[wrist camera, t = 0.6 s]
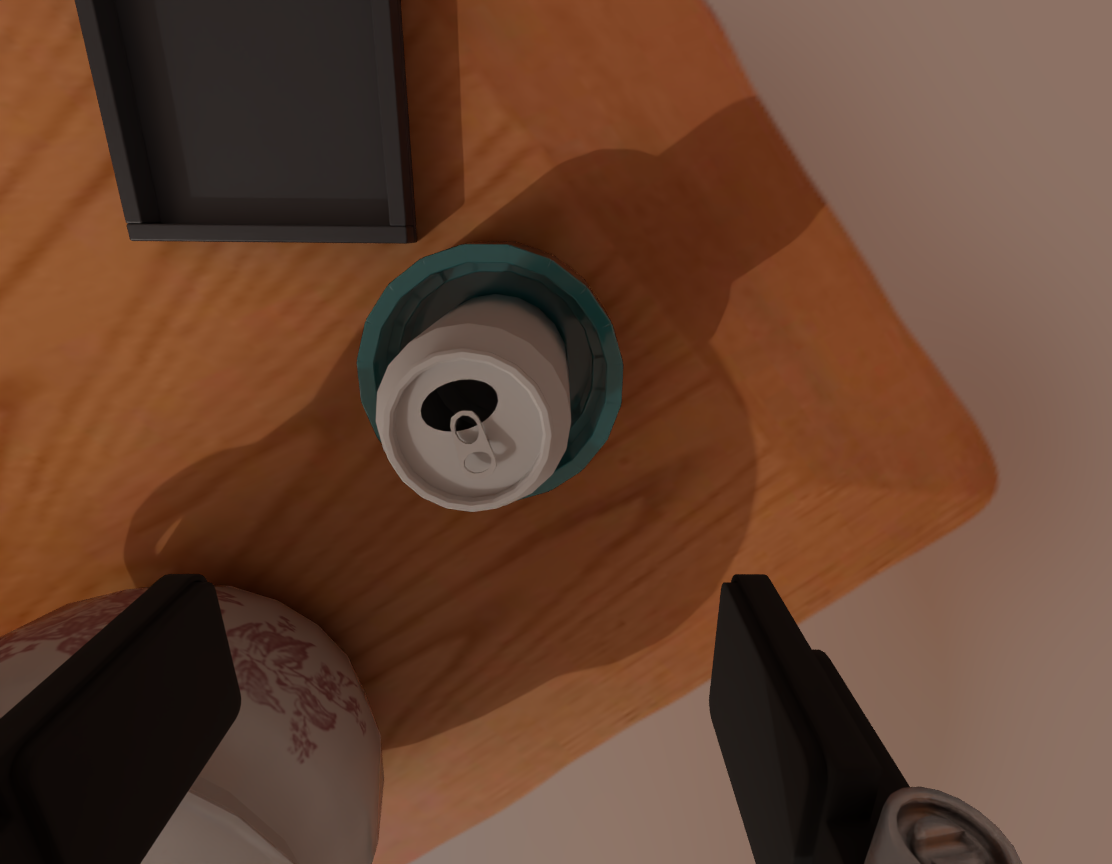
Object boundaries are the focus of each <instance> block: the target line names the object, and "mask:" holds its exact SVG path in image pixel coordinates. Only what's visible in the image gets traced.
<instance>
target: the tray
mask: <svg viewBox="0 0 1112 864" xmlns="http://www.w3.org/2000/svg"><path fill="white" fill-rule="evenodd" d="M75 3H76V8H77V12H78V16H79V21H80V25H81V29H82V34H83V38H84V42H85V47H86V51H87V55H88V60H89V64H90V68H91V73H92V77H93V81H94V86H95V90H96V94H97V99H98V103H99V107H100V112H101V116H102V121H103V125H104V129H105V134H106V138H107V142H108V147H109V151H110V155H111V160H112V164H113V168H114V173H115V177H116V181H117V186H118V190H119V194H120V199H121V203H122V207H123V212H124V216H125V220H126V223H129V224H127V229H128V233H129V237H130V240H132V241H203V242H308V243H415V242H417V232H416V218H415V204H414V189H413V175H412V160H411V146H410V132H409V117H408V103H407V88H406V74H405V60H404V45H403V31H402V17H401V2H400V0H75Z"/></svg>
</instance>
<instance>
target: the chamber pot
mask: <svg viewBox="0 0 1112 864" xmlns="http://www.w3.org/2000/svg"><path fill="white" fill-rule="evenodd" d="M214 587H215V589H216V593H217V597H218V601H219V605H220V610H221V614H222V618H223V622H224V626H225V630H226V635H227V639H228V643H229V647H230V651H231V655H232V660H233V664H234V668H235V672H236V676H237V681H238V685H239V689H240V693H241V707H240V711H239V714H238V716H237V718H236V720H235V721H234V723H233V724H232V726H231V727H230V729H229V730H228V732H227V733H226V735H225V736H224V738H223V739H222V741H221V742H220V744H219V745H218V747H217V749H216V750H215V752H214V753H213V755H212V756H211V758H210V759H209V761H208V762H207V764H206V765H205V767H204V768H203V770H202V771H201V773H200V774H199V776H198V777H197V779H196V780H195V782H194V783H193V785H192V786H191V788H190V789H189V791H188V792H187V794H186V795H185V797H184V799H183V800H182V802H181V803H180V805H179V806H178V808H177V809H176V811H175V812H174V814H173V815H172V817H171V818H170V820H169V821H168V823H167V824H166V826H165V827H164V829H163V830H162V832H161V833H160V835H159V836H158V838H157V839H156V841H155V842H154V844H153V846H152V847H151V849H150V850H149V852H148V853H147V855H146V856H145V858H144V859H143V861H142V862H141V864H372V862H373V859H374V855H375V852H376V848H377V845H378V839H379V828H380V818H381V807H382V797H383V787H384V772H383V758H382V744H381V735H380V732H379V729H378V726H377V723H376V721H375V718H374V715H373V712H372V709H371V706H370V704H369V701H368V698H367V695H366V692H365V690H364V688H363V686H362V684H361V682H360V680H359V678H358V676H357V674H356V672H355V669H354V667H353V665H352V663H351V661H350V659H349V657H348V656H347V655H346V654H345V653H344V652H343V651H342V650H341V648H340V647H339V646H338V645H337V644H336V643H335V642H334V641H333V640H332V639H331V638H330V637H329V636H328V635H327V634H326V633H325V632H324V631H323V630H322V629H321V628H320V626H319V625H317V624H316V623H314V622H313V621H311V620H309V619H308V618H306V617H304V616H303V615H301V614H299V613H298V612H296V611H294V610H293V609H291V608H289V607H288V606H286V605H284V604H283V603H281V602H280V601H278V600H275V599H271V598H268V597H265V596H261V595H258V594H255V593H252V592H248V591H245V590H242V589H239V588H235V587H232V586H223V585H214ZM149 588H150V587H146V588H137V589H127V590H123V591H118V592H114V593H110V594H106V595H102V596H98V597H94V598H90V599H86V600H81V601H77V602H73V603H69V604H66V605H64V606H62V607H60V608H58V609H56V610H54V611H52V612H50V613H48V614H46V615H44V616H42V617H40V618H38V619H36V620H34V621H31V622H29V623H27V624H25V625H23V626H21V627H19V628H17V629H15V630H13V631H11V632H9V633H7V634H5V635H3V636H1V637H0V718H1V717H3V716H4V715H5V714H6V713H7V712H8V711H9V710H11V709H12V708H13V707H14V706H15V705H16V704H17V703H19V702H20V701H21V700H22V699H23V698H24V697H25V696H27V695H28V694H29V693H30V692H31V691H32V690H33V689H34V688H36V687H37V686H38V685H39V684H40V683H41V682H42V681H44V680H45V679H46V678H47V677H48V676H49V675H50V674H52V673H53V672H54V671H55V670H56V669H57V668H58V667H60V666H61V665H62V664H63V663H64V662H65V661H66V660H68V659H69V658H70V657H71V656H72V655H73V654H74V653H76V652H77V651H78V650H79V649H80V648H81V647H82V646H84V645H85V644H86V643H87V642H88V641H89V640H90V639H92V638H93V637H94V636H95V635H96V634H97V633H98V632H100V631H101V630H102V629H103V628H104V627H105V626H106V625H107V624H109V623H110V622H111V621H112V620H113V619H114V618H115V617H117V616H118V615H119V614H120V613H121V612H122V611H123V610H125V609H126V608H127V607H128V606H129V605H130V604H131V603H133V602H134V601H135V600H136V599H137V598H138V597H139V596H141V595H142V594H143V593H144V592H145V591H146V590H147V589H149Z"/></svg>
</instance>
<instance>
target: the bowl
mask: <svg viewBox="0 0 1112 864" xmlns="http://www.w3.org/2000/svg"><path fill="white" fill-rule="evenodd" d="M492 294H499V295H505V296H512V297H518V298H520V299H522V300H524V301H526V302H528V303H530V304H532V305H534V306H536V307H538V308H539V309H540V310H541V311H542V312H543V313H544V314H545V315H546V316H547V317H548V318H549V319H550V320H551V321H552V322H553V323H554V324H555V326H556V328H557V330H558V332H559V334H560V336H561V338H562V340H563V341H564V343H565V349H566V355H567V362H568V374H569V392H570V410H571V425H570V431H569V436H568V442H567V448H566V451H565V453H564V455H563V456H562V458H561V460H560V462H559V464H558V465H557V467H556V469H555V471H554V473H553V474H552V475H551V476H550V477H549V478H548V479H547V480H546V481H545V482H544V483H543V484H541V485H540V486H539V487H538V488H537V489H536V490H535V491H534V492H533V493H531V494H529V495H527V496H525V497H523V498H521V499H524V498H528V497H531V496H535V495H538V494H542V493H545V492H549V491H550V490H553V489H554V488H556V487H557V486H559V485H561V484H562V483H564V482H565V481H567V480H568V479H570V478H571V477H573V476H575V475H576V474H578V473H579V472H581V471H582V470H583V469H584V468H585V467H586V466H587V464H588V463H589V462H590V461H591V459H592V458H593V457H594V456H595V455H596V453H597V452H598V451H599V450H600V449H601V447H602V446H603V445H604V444H605V442H606V441H607V440H608V437H609V435H610V432H611V430H612V427H613V425H614V422H615V420H616V417H617V414H618V412H619V409H620V407H621V403H622V384H623V360H622V357H621V353H620V349H619V346H618V342H617V339H616V335H615V332H614V328H613V325H612V323H611V320H610V318H609V317H608V315H607V313H606V311H605V309H604V307H603V306H602V304H601V303H600V301H599V300H598V298H597V297H596V295H595V294H594V293H593V291H592V290H591V288H590V287H589V285H588V284H587V282H586V281H585V279H583V277H582V276H580V275H579V274H578V273H576V272H575V271H574V270H573V269H571V268H570V267H569V266H567V265H566V264H565V263H564V262H562V261H561V260H560V259H558V258H557V257H556V256H554V255H553V256H552V254H550V253H548V252H545V251H542V250H539V249H536V248H533V247H530V246H528V245H525V244H522V243H519V242H515V241H476V242H471V243H466V244H461V245H458V246H455V247H452V248H449V249H446V250H444V251H441V252H438V253H435V254H432V255H429V256H426V257H423V258H422V259H420V260H418V261H417V262H416V263H414V264H413V265H412V266H411V267H409V268H408V269H407V270H406V271H404V272H403V273H402V274H401V275H399V276H398V277H397V278H395V279H394V280H393V281H392V282H390V283H389V284H388V286H387V287H386V288H385V290H384V291H383V293H382V295H381V296H380V298H379V300H378V301H377V303H376V304H375V306H374V308H373V309H372V311H371V312H370V314H369V316H368V317H367V319H366V322H365V325H364V329H363V334H362V339H361V343H360V348H359V352H358V357H357V370H358V379H359V388H360V397H361V403H362V405H363V407H364V409H365V412H366V414H367V416H368V418H369V421H370V423H371V425H372V427H373V429H374V432H375V434H376V436H377V438H378V440H379V441H380V442H381V439H380V435H379V432H378V428H377V425H376V405H377V391H378V389H379V387H380V384H381V382H382V379H383V377H384V375H385V372H386V370H387V367H388V365H389V364H390V363H391V362H392V361H393V360H394V358H395V357H396V356H397V355H398V354H399V353H400V352H401V351H402V350H403V349H404V348H405V346H406V345H407V344H408V343H409V342H411V341H412V340H413V339H414V338H416V337H417V336H418V335H420V334H421V333H422V332H423V331H425V330H426V329H427V328H429V327H430V326H431V325H433V324H434V323H435V322H436V321H438V320H439V319H440V318H442V317H443V316H444V315H446V314H447V313H448V312H449V311H451V310H452V309H453V308H455V307H457V306H459V305H461V304H462V303H464V302H466V301H468V300H470V299H472V298H474V297H480V296H486V295H492ZM381 443H382V442H381ZM518 500H520V499H518ZM516 501H517V500H516Z"/></svg>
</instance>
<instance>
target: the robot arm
mask: <svg viewBox="0 0 1112 864" xmlns="http://www.w3.org/2000/svg"><path fill="white" fill-rule="evenodd" d="M709 706H710V714H711V719H712V723H713V726H714V729H715V732H716V735H717V739H718V742H719V745H720V749H721V752H722V755H723V758H724V762H725V765H726V768H727V771H728V775H729V778H730V781H731V784H732V787H733V791H734V794H735V797H736V801H737V804H738V807H739V810H740V814H741V817H742V820H743V823H744V827H745V830H746V833H747V836H748V840H749V843H750V846H751V849H752V853H753V856H754V859H755V862H756V864H1022V862H1021V860H1020V858H1019V856H1018V854H1017V852H1016V850H1015V848H1014V846H1013V845H1012V844H1011V842H1010V841H1009V840H1008V839H1007V838H1006V836H1005V835H1004V834H1003V833H1002V831H1001V830H1000V829H999V828H998V827H997V826H996V825H995V824H993V822H991V821H990V820H989V819H988V818H987V817H986V816H984V815H983V814H982V813H981V812H980V811H978V810H977V809H975V808H973V807H972V806H970V805H969V804H967V803H965V802H964V801H962V800H960V799H959V798H956V797H953V796H951V795H949V794H946V793H944V792H942V791H939V790H935V789H929V788H924V787H910V786H909V785H908V783H907V782H906V780H905V778H904V777H903V775H902V774H901V772H900V770H899V769H898V767H897V766H896V764H895V762H894V761H893V759H892V758H891V756H890V754H889V753H888V751H887V750H886V748H885V746H884V745H883V743H882V742H881V740H880V739H879V737H878V735H877V734H876V732H875V730H874V729H873V727H872V726H871V724H870V722H869V721H868V719H867V718H866V716H865V714H864V713H863V711H862V710H861V708H860V707H859V705H858V703H857V702H856V700H855V698H854V697H853V695H852V694H851V692H850V690H849V689H848V688H847V686H846V684H845V682H844V681H843V679H842V678H841V676H840V675H839V673H838V671H837V670H836V668H835V666H834V665H833V663H832V662H831V660H830V659H829V657H828V656H827V655H826V654H825V653H824V652H823V651H821V650H812V649H811V648H810V646H809V644H808V643H807V641H806V640H805V638H804V636H803V634H802V632H801V631H800V629H799V627H798V626H797V624H796V622H795V621H794V619H793V617H792V616H791V614H790V612H789V611H788V609H787V607H786V606H785V604H784V602H783V601H782V599H781V597H780V596H779V594H778V592H777V591H776V589H775V587H774V585H773V584H772V582H771V580H770V579H769V577H768V576H767V575H764V574H735V575H734V576H733V577H732V580H731V583H723V584H722V587H721V595H720V604H719V613H718V622H717V631H716V640H715V649H714V659H713V668H712V677H711V686H710V695H709ZM240 707H241V693H240V689H239V685H238V681H237V676H236V672H235V668H234V664H233V660H232V655H231V651H230V647H229V643H228V639H227V635H226V630H225V626H224V622H223V618H222V614H221V610H220V605H219V601H218V597H217V593H216V589H215V587H214V585H213V584H212V583H210V582H207V580H206V578H205V577H204V576H203V575H200V574H168V575H165V576H163V577H161V578H160V579H159V580H158V581H157V582H155V583H154V584H153V585H152V586H151V587H150V588H149V589H147V590H146V591H145V592H144V593H143V594H142V595H141V596H139V597H138V598H137V599H136V600H135V601H134V602H133V603H131V604H130V605H129V606H128V607H127V608H126V609H125V610H123V611H122V612H121V613H120V614H119V615H118V616H117V617H115V618H114V619H113V620H112V621H111V622H110V623H109V624H107V625H106V626H105V627H104V628H103V629H102V630H101V631H100V632H98V633H97V634H96V635H95V636H94V637H93V638H92V639H90V640H89V641H88V642H87V643H86V644H85V645H84V646H82V647H81V648H80V649H79V650H78V651H77V652H76V653H74V654H73V655H72V656H71V657H70V658H69V659H68V660H66V661H65V662H64V663H63V664H62V665H61V666H60V667H58V668H57V669H56V670H55V671H54V672H53V673H52V674H50V675H49V676H48V677H47V678H46V679H45V680H44V681H42V682H41V683H40V684H39V685H38V686H37V687H36V688H34V689H33V690H32V691H31V692H30V693H29V694H28V695H27V696H25V697H24V698H23V699H22V700H21V701H20V702H19V703H17V704H16V705H15V706H14V707H13V708H12V709H11V710H9V711H8V712H7V713H6V714H5V715H4V716H3V717H1V718H0V864H141V862H142V861H143V859H144V858H145V856H146V855H147V853H148V852H149V850H150V849H151V847H152V846H153V844H154V842H155V841H156V839H157V838H158V836H159V835H160V833H161V832H162V830H163V829H164V827H165V826H166V824H167V823H168V821H169V820H170V818H171V817H172V815H173V814H174V812H175V811H176V809H177V808H178V806H179V805H180V803H181V802H182V800H183V799H184V797H185V795H186V794H187V792H188V791H189V789H190V788H191V786H192V785H193V783H194V782H195V780H196V779H197V777H198V776H199V774H200V773H201V771H202V770H203V768H204V767H205V765H206V764H207V762H208V761H209V759H210V758H211V756H212V755H213V753H214V752H215V750H216V749H217V747H218V745H219V744H220V742H221V741H222V739H223V738H224V736H225V735H226V733H227V732H228V730H229V729H230V727H231V726H232V724H233V723H234V721H235V720H236V718H237V716H238V714H239V711H240Z"/></svg>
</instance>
